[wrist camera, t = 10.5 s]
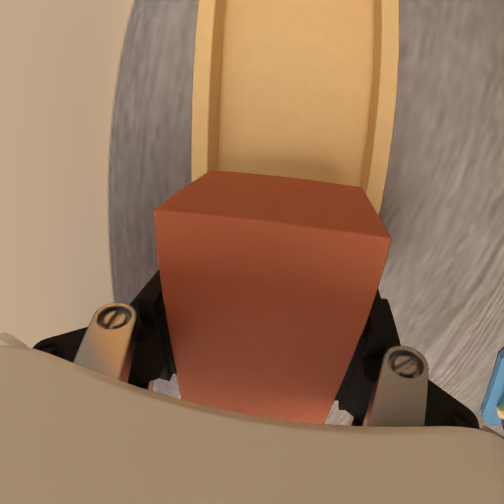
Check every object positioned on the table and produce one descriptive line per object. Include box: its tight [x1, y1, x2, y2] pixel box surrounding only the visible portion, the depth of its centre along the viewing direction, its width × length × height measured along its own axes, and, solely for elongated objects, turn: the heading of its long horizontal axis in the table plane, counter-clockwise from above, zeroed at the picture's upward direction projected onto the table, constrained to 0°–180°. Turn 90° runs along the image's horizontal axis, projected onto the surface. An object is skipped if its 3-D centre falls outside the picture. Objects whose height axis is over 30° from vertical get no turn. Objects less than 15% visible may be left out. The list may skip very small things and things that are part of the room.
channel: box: [192, 0, 399, 216], centre depth 13 cm, size 19×9×2 cm, turn 177°
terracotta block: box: [154, 171, 391, 424], centre depth 9 cm, size 8×5×4 cm, turn 177°
